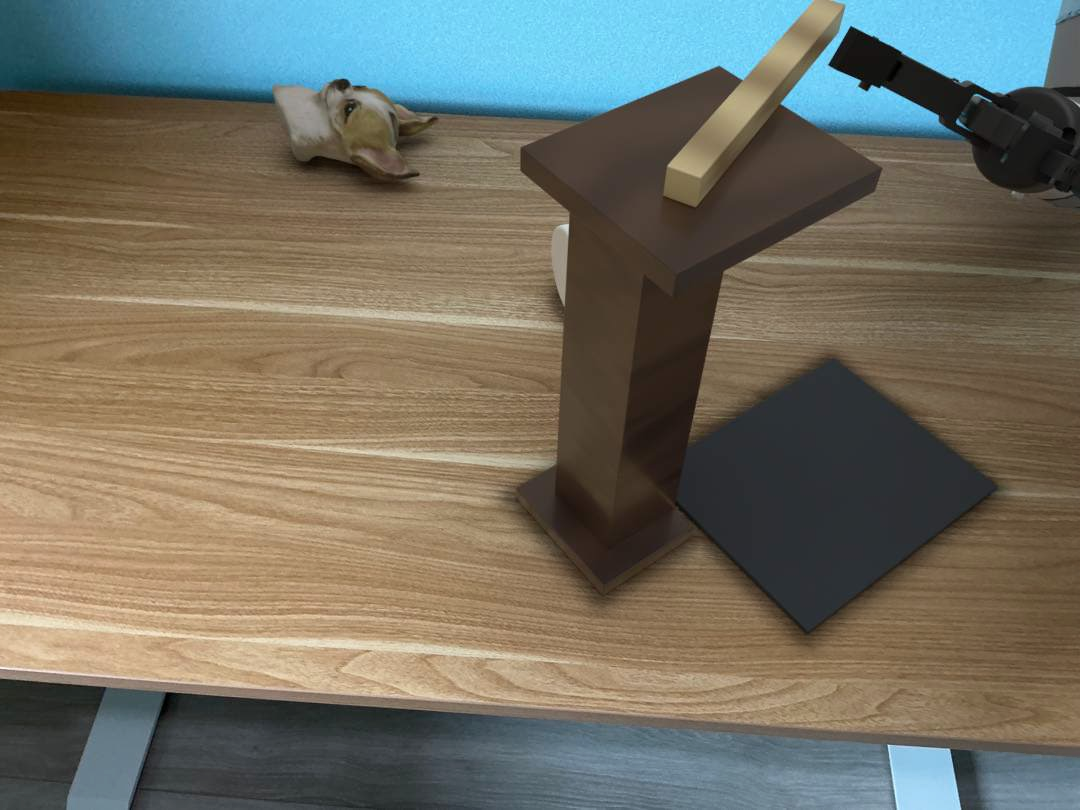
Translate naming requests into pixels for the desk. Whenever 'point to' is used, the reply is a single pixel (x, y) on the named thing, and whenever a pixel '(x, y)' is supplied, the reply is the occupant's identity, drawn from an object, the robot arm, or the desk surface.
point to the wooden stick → (751, 104)
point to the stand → (656, 302)
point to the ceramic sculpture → (349, 126)
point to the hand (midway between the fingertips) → (926, 94)
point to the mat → (824, 491)
